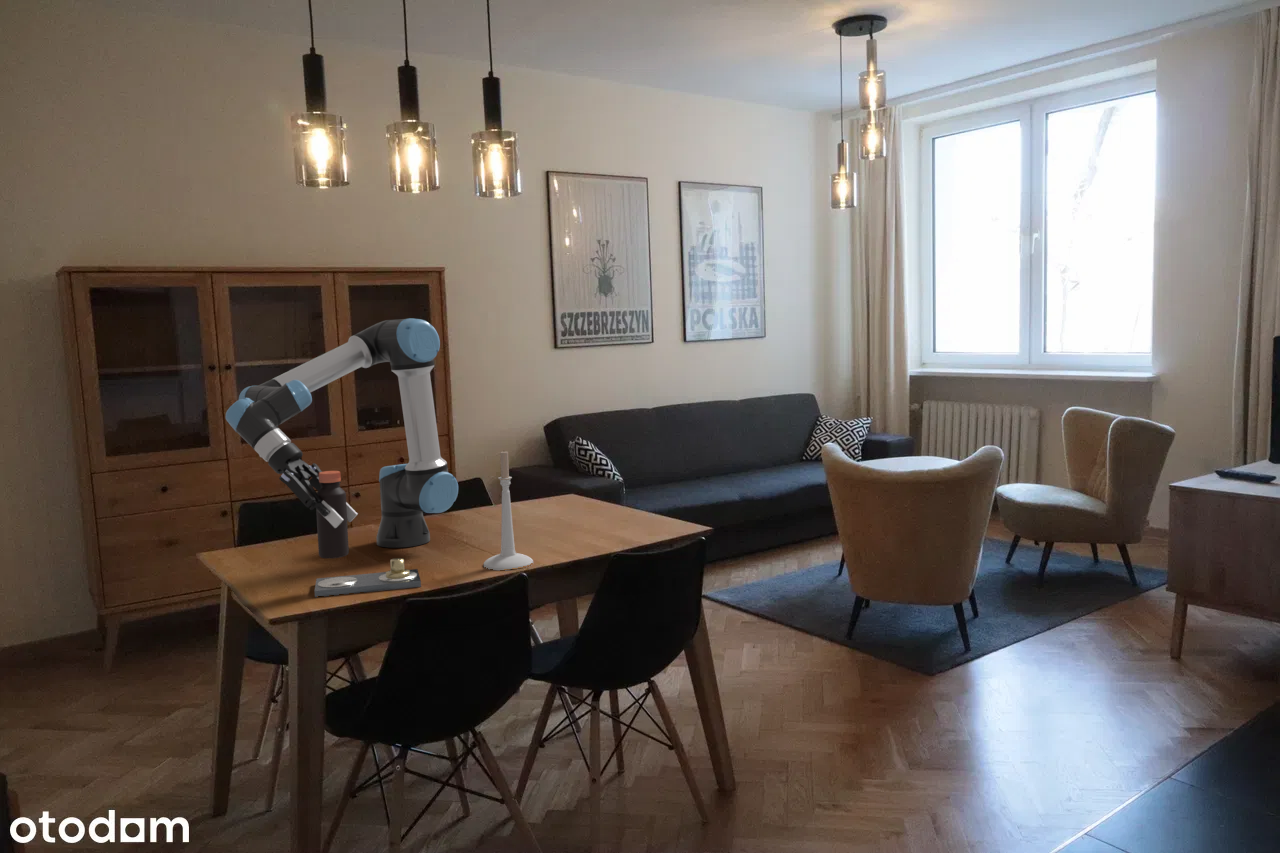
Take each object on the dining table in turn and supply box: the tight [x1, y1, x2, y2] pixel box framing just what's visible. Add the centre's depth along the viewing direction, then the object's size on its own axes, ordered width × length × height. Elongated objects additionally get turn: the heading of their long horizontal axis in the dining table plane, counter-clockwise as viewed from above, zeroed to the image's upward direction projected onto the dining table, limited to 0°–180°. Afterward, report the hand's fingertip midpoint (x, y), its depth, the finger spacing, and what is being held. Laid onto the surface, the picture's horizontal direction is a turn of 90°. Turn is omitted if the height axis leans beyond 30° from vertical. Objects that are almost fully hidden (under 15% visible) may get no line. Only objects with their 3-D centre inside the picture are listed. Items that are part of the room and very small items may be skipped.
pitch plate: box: [314, 557, 422, 598], centre depth 224 cm, size 24×12×6 cm, turn 107°
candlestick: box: [483, 451, 534, 571], centre depth 240 cm, size 13×13×30 cm
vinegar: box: [315, 470, 350, 559], centre depth 220 cm, size 7×7×20 cm
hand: (346, 520), depth 220 cm, fingers closed on vinegar, 6 cm apart
